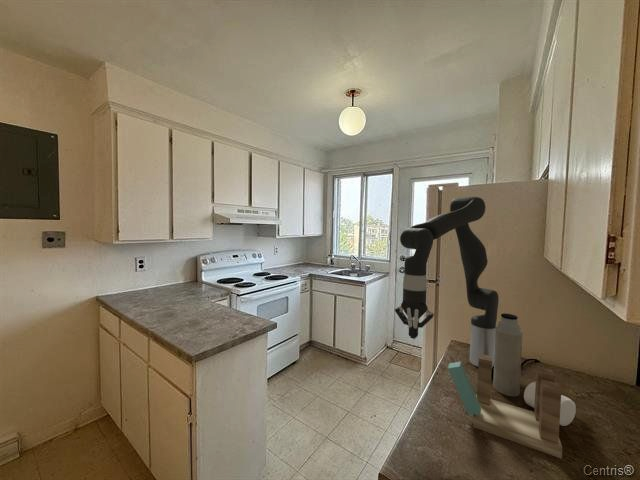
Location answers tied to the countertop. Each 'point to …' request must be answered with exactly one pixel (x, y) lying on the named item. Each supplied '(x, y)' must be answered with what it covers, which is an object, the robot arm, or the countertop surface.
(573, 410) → the mug
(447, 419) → the countertop surface
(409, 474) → the countertop surface
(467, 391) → the folding leg
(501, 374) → the thermos bottle
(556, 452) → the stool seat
